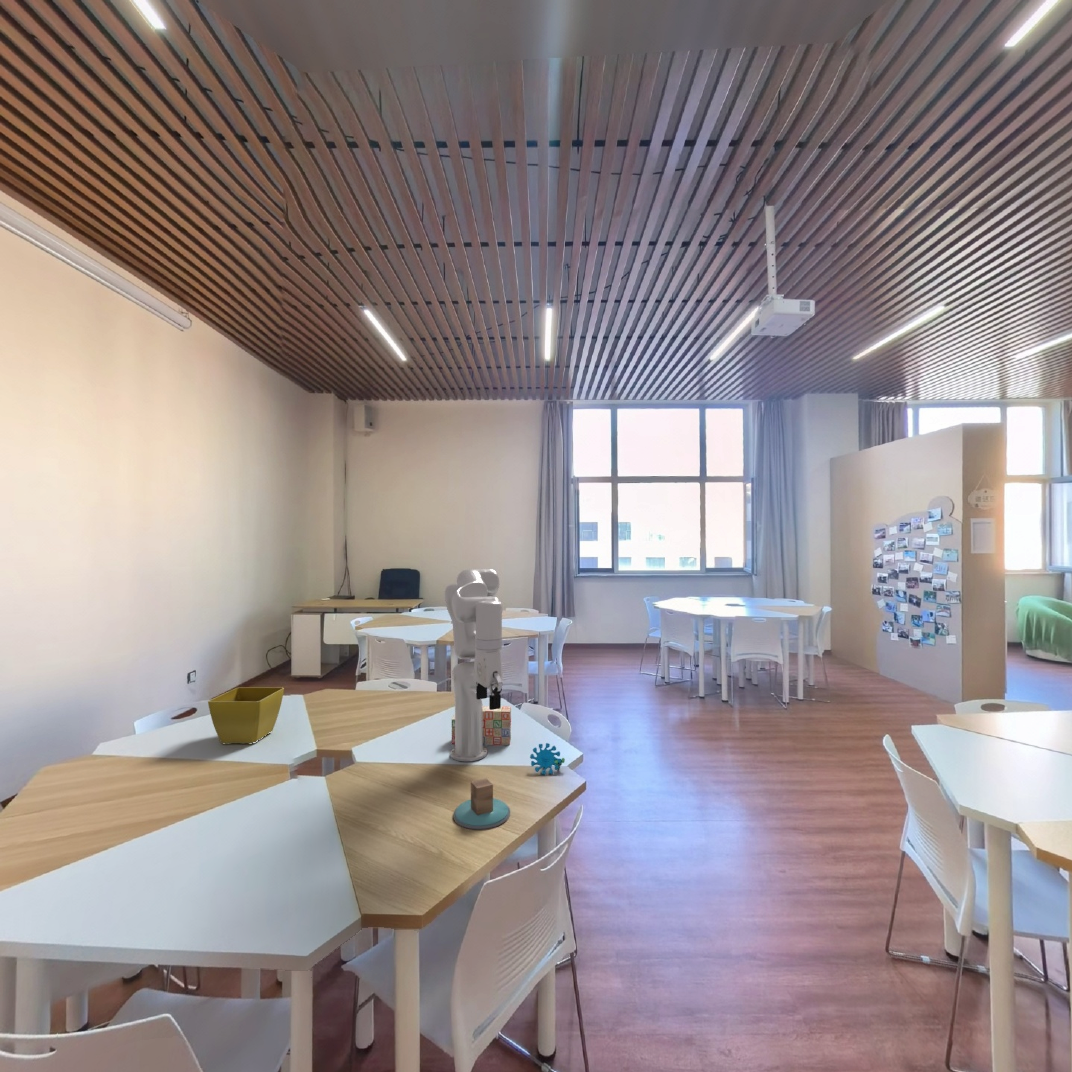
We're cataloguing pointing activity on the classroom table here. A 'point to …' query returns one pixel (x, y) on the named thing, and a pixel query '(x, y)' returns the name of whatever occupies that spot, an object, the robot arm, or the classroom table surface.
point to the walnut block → (481, 796)
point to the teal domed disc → (481, 816)
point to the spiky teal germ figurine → (546, 759)
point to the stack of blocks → (493, 726)
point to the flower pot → (245, 713)
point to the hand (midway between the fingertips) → (488, 703)
